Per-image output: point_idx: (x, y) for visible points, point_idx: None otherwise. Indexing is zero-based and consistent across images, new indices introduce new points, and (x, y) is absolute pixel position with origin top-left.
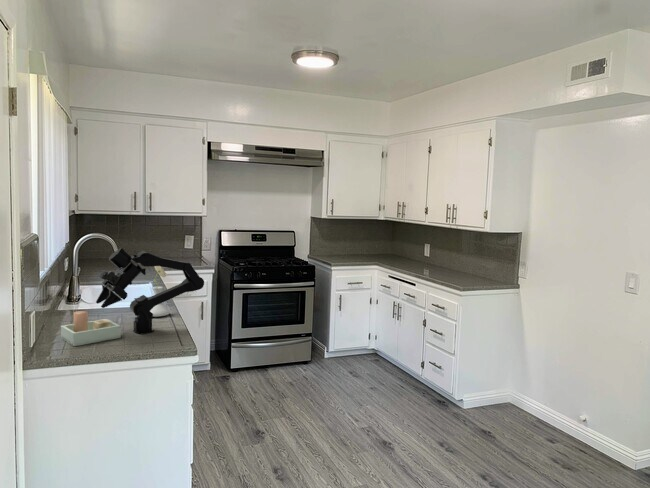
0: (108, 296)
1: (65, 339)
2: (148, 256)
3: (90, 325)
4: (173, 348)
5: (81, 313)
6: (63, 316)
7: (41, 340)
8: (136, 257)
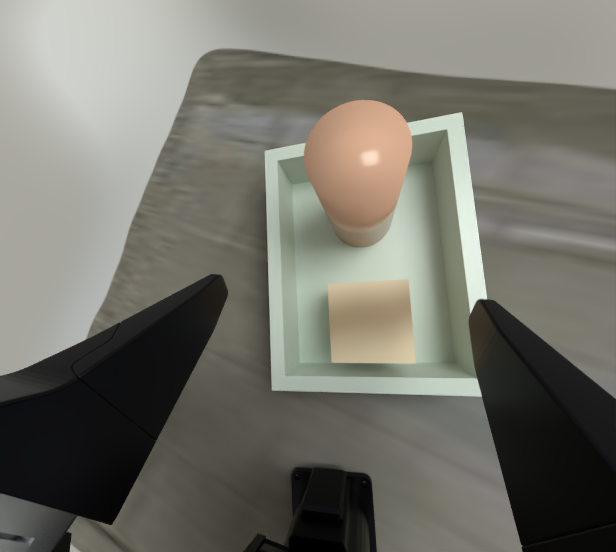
0: (75, 361)
1: None
2: None
3: (457, 279)
4: None
5: (319, 151)
6: None
7: (450, 81)
8: None
